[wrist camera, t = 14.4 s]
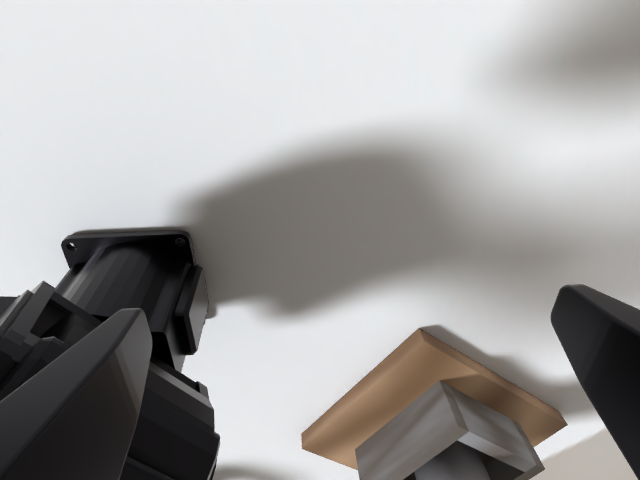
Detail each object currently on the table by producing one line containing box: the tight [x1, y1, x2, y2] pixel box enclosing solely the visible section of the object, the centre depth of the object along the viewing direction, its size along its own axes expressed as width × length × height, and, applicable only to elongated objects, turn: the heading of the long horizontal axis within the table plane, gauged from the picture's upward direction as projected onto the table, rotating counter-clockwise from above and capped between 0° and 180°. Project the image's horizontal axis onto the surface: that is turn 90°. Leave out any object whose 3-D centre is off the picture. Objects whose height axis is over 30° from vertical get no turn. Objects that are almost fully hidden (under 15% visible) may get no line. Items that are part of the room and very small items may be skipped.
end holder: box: [301, 329, 568, 480], centre depth 30 cm, size 16×13×5 cm
